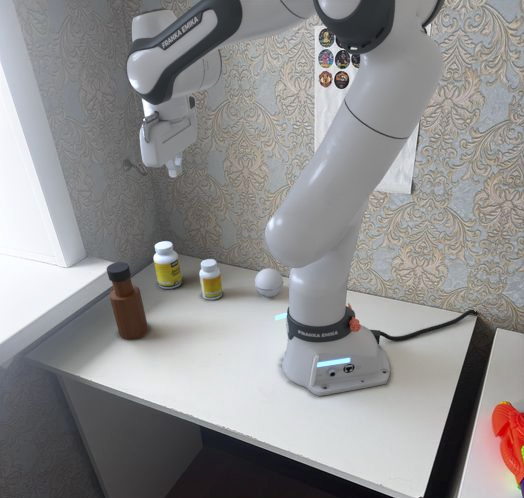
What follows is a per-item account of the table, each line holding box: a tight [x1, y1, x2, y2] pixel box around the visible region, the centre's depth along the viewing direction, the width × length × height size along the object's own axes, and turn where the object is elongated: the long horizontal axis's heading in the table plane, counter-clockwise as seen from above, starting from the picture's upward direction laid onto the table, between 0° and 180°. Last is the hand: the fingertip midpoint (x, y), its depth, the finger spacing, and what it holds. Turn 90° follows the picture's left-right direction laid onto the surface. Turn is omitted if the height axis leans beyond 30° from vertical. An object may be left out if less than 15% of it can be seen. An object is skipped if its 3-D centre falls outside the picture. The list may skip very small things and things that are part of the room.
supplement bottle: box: [198, 258, 223, 301], centre depth 129 cm, size 5×5×10 cm
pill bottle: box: [153, 240, 183, 290], centre depth 134 cm, size 6×6×12 cm
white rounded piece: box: [254, 267, 289, 298], centre depth 128 cm, size 10×7×7 cm
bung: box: [106, 261, 132, 283], centre depth 111 cm, size 5×5×4 cm
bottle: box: [108, 277, 149, 341], centre depth 116 cm, size 7×7×15 cm
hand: (175, 175), depth 109 cm, fingers closed
